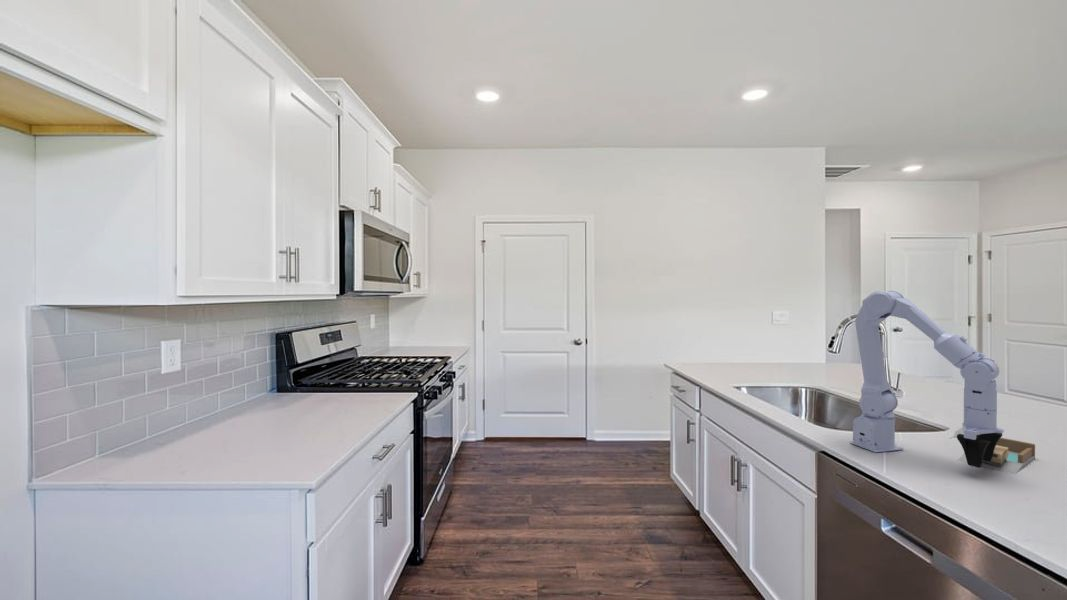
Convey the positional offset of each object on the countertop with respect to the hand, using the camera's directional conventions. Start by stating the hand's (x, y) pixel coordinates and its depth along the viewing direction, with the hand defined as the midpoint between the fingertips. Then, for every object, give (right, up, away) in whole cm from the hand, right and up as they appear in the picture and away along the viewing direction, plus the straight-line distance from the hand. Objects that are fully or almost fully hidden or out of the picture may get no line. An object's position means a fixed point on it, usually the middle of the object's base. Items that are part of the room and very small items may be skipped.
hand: (979, 463), depth 109 cm
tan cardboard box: (+7, -1, +4) cm, 8 cm away
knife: (+27, -2, +30) cm, 40 cm away
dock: (+11, -2, +7) cm, 14 cm away
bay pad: (+13, -2, +8) cm, 15 cm away
